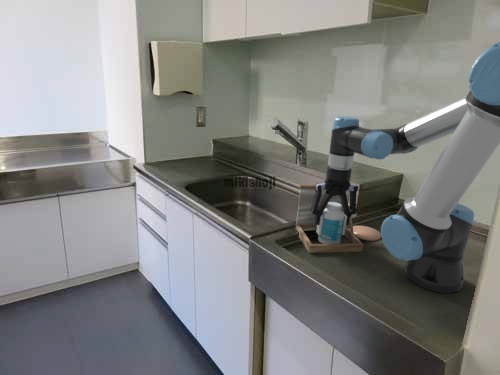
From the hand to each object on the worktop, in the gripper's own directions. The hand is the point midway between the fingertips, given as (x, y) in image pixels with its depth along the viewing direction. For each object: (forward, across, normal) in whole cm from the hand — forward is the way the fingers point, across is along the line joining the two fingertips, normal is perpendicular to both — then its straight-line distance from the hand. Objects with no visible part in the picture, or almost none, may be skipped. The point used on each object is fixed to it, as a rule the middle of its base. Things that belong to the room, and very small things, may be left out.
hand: (330, 233), depth 122 cm
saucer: (+3, -16, -6) cm, 17 cm away
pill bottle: (+3, 0, 0) cm, 3 cm away
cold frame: (+3, 0, -1) cm, 4 cm away
